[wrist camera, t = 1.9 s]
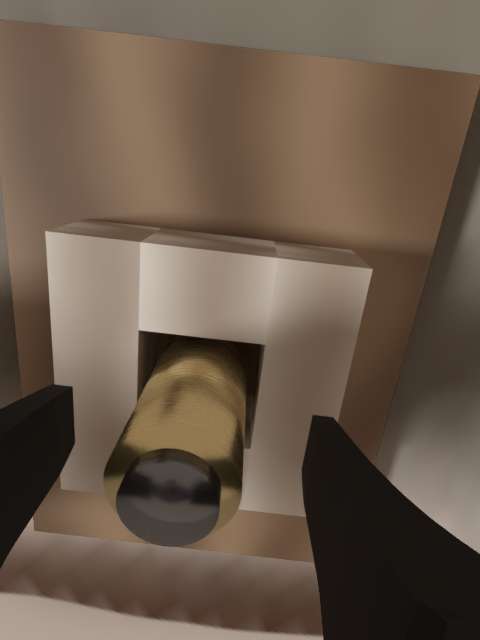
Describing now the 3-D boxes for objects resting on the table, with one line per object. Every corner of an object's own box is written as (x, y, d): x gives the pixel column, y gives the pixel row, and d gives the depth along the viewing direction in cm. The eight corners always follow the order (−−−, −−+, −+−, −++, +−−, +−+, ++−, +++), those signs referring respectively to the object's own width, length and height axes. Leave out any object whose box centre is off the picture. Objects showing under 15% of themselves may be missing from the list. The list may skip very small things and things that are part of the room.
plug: (164, 386, 18) (95, 553, 10) (168, 312, 16) (92, 438, 9) (243, 395, 18) (233, 569, 10) (252, 321, 16) (249, 456, 9)
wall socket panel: (48, 507, 22) (0, 587, 18) (11, 31, 14) (-89, -24, 10) (339, 541, 22) (359, 628, 18) (460, 84, 14) (544, 50, 10)
